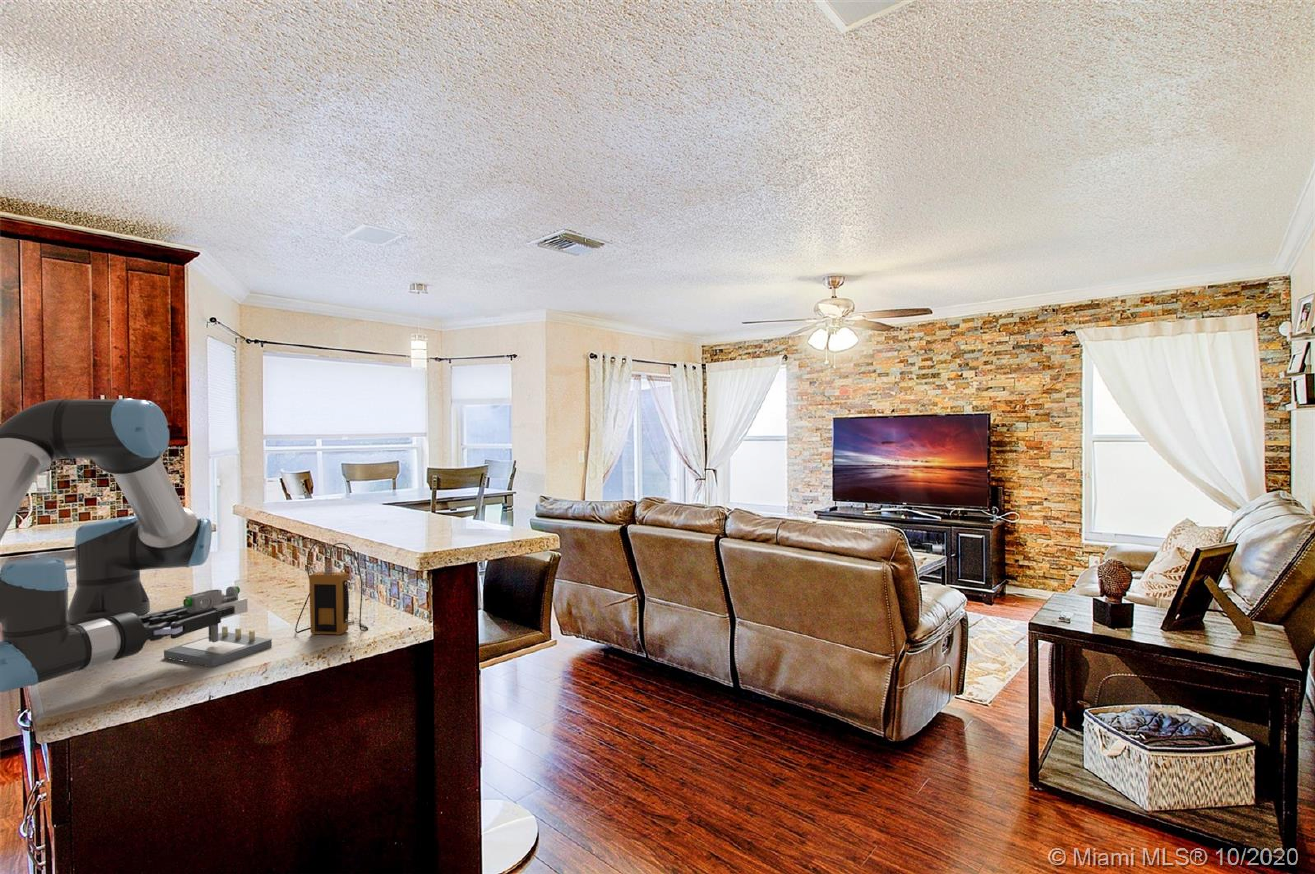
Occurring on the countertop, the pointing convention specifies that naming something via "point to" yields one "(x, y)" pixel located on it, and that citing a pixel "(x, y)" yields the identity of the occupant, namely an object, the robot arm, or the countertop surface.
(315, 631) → the multimeter
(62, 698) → the countertop surface
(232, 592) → the mechanical component
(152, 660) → the countertop surface
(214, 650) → the board
